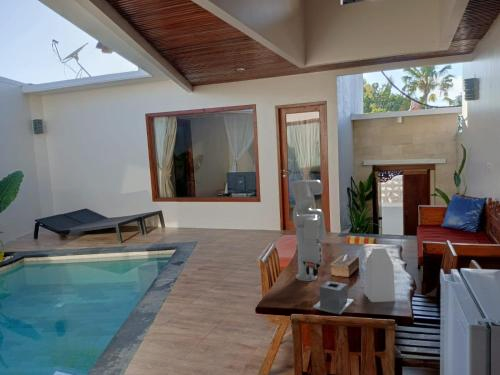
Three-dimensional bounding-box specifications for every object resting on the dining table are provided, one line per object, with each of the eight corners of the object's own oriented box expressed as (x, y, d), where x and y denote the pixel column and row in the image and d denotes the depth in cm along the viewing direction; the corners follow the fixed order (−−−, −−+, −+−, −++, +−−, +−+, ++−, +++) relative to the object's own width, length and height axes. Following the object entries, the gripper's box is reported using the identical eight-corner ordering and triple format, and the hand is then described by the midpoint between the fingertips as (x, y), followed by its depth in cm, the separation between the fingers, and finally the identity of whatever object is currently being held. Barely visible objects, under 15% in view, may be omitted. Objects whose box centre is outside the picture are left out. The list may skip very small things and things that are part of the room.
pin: (309, 276, 211) (309, 259, 210) (319, 278, 208) (319, 261, 207) (304, 280, 207) (304, 262, 205) (314, 282, 203) (314, 264, 202)
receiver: (328, 296, 206) (327, 277, 205) (353, 301, 198) (353, 282, 197) (312, 308, 192) (312, 288, 191) (340, 314, 184) (339, 294, 183)
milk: (386, 292, 209) (386, 244, 206) (395, 301, 197) (395, 250, 194) (364, 293, 208) (363, 245, 206) (371, 302, 197) (371, 251, 194)
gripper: (329, 241, 202) (329, 275, 205) (300, 237, 212) (301, 269, 215) (323, 245, 196) (323, 280, 199) (294, 240, 206) (294, 274, 209)
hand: (312, 274), depth 207 cm, fingers closed on pin, 3 cm apart
